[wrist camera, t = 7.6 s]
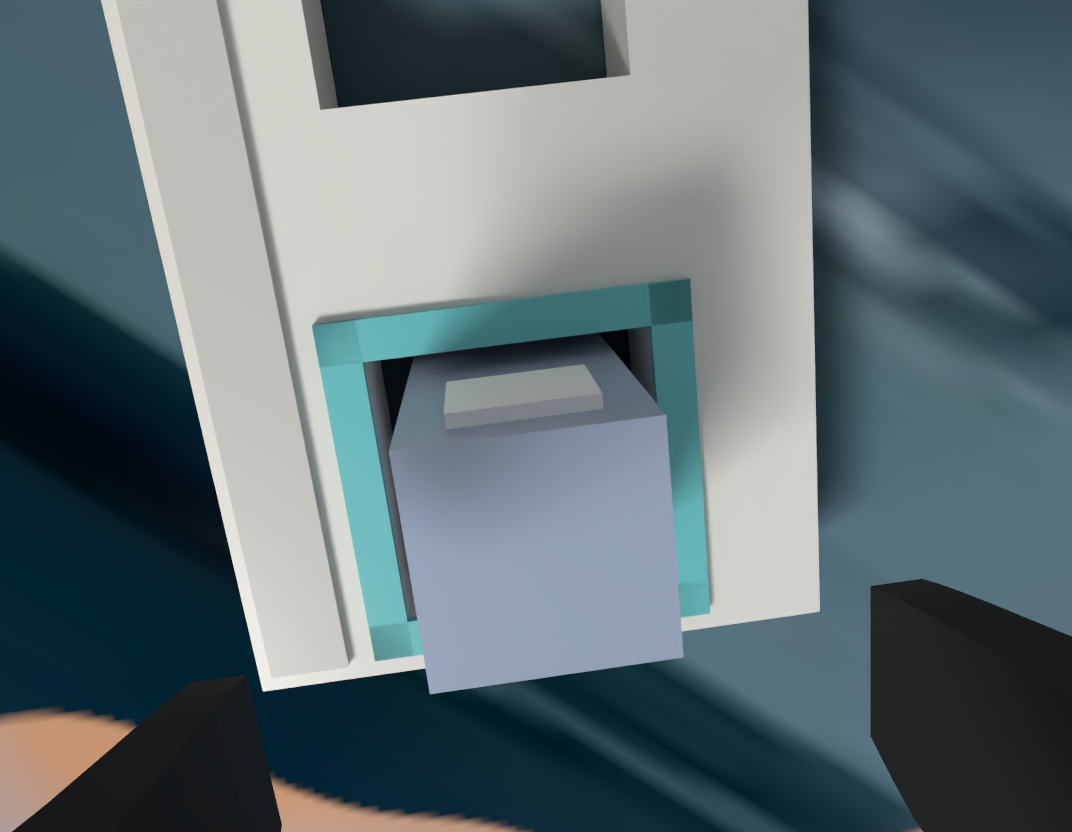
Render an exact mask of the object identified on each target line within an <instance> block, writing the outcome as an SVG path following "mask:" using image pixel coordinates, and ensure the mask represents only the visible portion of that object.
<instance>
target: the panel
mask: <svg viewBox="0 0 1072 832" xmlns="http://www.w3.org/2000/svg"><path fill="white" fill-rule="evenodd" d="M101 2H102V6H103V10H104V15H105V19H106V23H107V27H108V32H109V36H110V40H111V45H112V49H113V53H114V57H115V62H116V66H117V70H118V74H119V79H120V83H121V87H122V92H123V96H124V100H125V104H126V109H127V113H128V117H129V121H130V126H131V130H132V134H133V138H134V143H135V147H136V151H137V156H138V160H139V164H140V168H141V173H142V177H143V181H144V185H145V190H146V194H147V198H148V203H149V207H150V211H151V215H152V220H153V224H154V228H155V232H156V237H157V241H158V245H159V249H160V254H161V258H162V262H163V267H164V271H165V275H166V279H167V284H168V288H169V292H170V296H171V301H172V305H173V309H174V314H175V318H176V322H177V326H178V331H179V335H180V339H181V343H182V348H183V352H184V356H185V361H186V365H187V369H188V373H189V378H190V382H191V386H192V390H193V395H194V399H195V403H196V407H197V412H198V416H199V420H200V425H201V429H202V433H203V437H204V442H205V446H206V450H207V454H208V459H209V463H210V467H211V472H212V476H213V480H214V484H215V489H216V493H217V497H218V501H219V506H220V510H221V514H222V518H223V523H224V527H225V531H226V536H227V540H228V544H229V548H230V553H231V557H232V561H233V565H234V570H235V574H236V578H237V583H238V587H239V591H240V595H241V600H242V604H243V608H244V612H245V617H246V621H247V625H248V629H249V634H250V638H251V642H252V647H253V651H254V655H255V659H256V664H257V668H258V672H259V676H260V681H261V685H262V689H263V691H270V690H277V689H284V688H291V687H298V686H305V685H312V684H319V683H326V682H333V681H340V680H346V679H353V678H360V677H367V676H374V675H381V674H388V673H395V672H402V671H409V670H416V669H423V668H426V667H425V662H424V656H423V650H422V644H421V638H420V632H419V626H418V620H417V615H416V609H415V603H414V597H413V591H412V585H411V579H410V573H409V567H408V562H407V556H406V550H405V544H404V538H403V532H402V526H401V520H400V515H399V509H398V503H397V497H396V491H395V485H394V479H393V473H392V467H391V462H390V456H389V449H390V445H391V441H392V437H393V432H392V426H391V420H390V414H389V408H388V402H387V396H386V390H385V384H384V378H383V372H382V366H381V360H386V359H394V358H401V357H409V356H417V355H425V354H433V353H441V352H449V351H457V350H465V349H473V348H480V347H488V346H496V345H504V344H512V343H520V342H528V341H536V340H544V339H552V338H560V337H567V336H575V335H583V334H591V333H599V332H607V331H615V330H623V329H628V339H629V351H630V364H631V373H632V374H633V375H634V376H635V378H636V379H637V380H638V381H639V383H640V384H641V385H642V386H643V387H644V389H645V390H646V391H647V392H648V393H649V395H650V396H651V397H652V398H653V399H654V401H655V402H656V403H657V404H658V405H659V407H660V408H661V409H662V410H663V412H664V413H665V414H666V419H667V433H668V447H669V461H670V475H671V489H672V503H673V517H674V531H675V545H676V559H677V573H678V587H679V601H680V615H681V629H682V631H688V630H695V629H702V628H709V627H716V626H722V625H729V624H736V623H743V622H750V621H757V620H764V619H771V618H778V617H785V616H792V615H799V614H806V613H813V612H820V601H819V549H818V497H817V444H816V392H815V340H814V288H813V235H812V183H811V131H810V79H809V27H808V0H601V11H602V23H603V35H604V48H605V60H606V72H607V78H600V79H591V80H582V81H573V82H564V83H556V84H547V85H538V86H529V87H520V88H511V89H502V90H493V91H485V92H476V93H467V94H458V95H449V96H440V97H431V98H422V99H413V100H405V101H396V102H387V103H378V104H369V105H360V106H351V107H342V108H338V103H337V97H336V91H335V85H334V79H333V73H332V67H331V62H330V56H329V50H328V44H327V38H326V32H325V26H324V20H323V14H322V8H321V2H320V0H101Z"/></svg>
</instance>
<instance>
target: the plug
mask: <svg viewBox="0 0 1072 832" xmlns="http://www.w3.org/2000/svg"><path fill="white" fill-rule="evenodd" d="M389 456H390V462H391V467H392V473H393V479H394V485H395V491H396V497H397V503H398V509H399V515H400V520H401V526H402V532H403V538H404V544H405V550H406V556H407V562H408V567H409V573H410V579H411V585H412V591H413V597H414V603H415V609H416V615H417V620H418V626H419V632H420V638H421V644H422V650H423V656H424V662H425V667H426V673H427V679H428V685H429V691H430V694H434V693H441V692H448V691H455V690H462V689H469V688H476V687H482V686H489V685H496V684H503V683H510V682H517V681H524V680H531V679H538V678H544V677H551V676H558V675H565V674H572V673H579V672H586V671H593V670H600V669H606V668H613V667H620V666H627V665H634V664H641V663H648V662H655V661H662V660H668V659H675V658H682V657H683V643H682V629H681V615H680V601H679V587H678V573H677V559H676V545H675V531H674V517H673V503H672V489H671V475H670V461H669V447H668V433H667V419H666V414H665V413H664V412H663V410H662V409H661V408H660V407H659V405H658V404H657V403H656V402H655V401H654V399H653V398H652V397H651V396H650V395H649V393H648V392H647V391H646V390H645V389H644V387H643V386H642V385H641V384H640V383H639V381H638V380H637V379H636V378H635V376H634V375H633V374H632V373H631V372H630V370H629V369H628V368H627V367H626V366H625V364H624V363H623V362H622V361H621V360H620V358H619V357H618V356H617V355H616V353H615V352H614V351H613V350H612V349H611V347H610V346H609V345H608V344H607V343H606V341H605V340H604V339H603V338H602V337H601V335H600V334H599V333H591V334H583V335H575V336H567V337H560V338H552V339H544V340H536V341H528V342H520V343H512V344H504V345H496V346H488V347H480V348H473V349H465V350H457V351H449V352H441V353H433V354H425V355H417V356H414V358H413V362H412V365H411V369H410V373H409V377H408V381H407V384H406V388H405V392H404V396H403V399H402V403H401V407H400V411H399V415H398V418H397V422H396V426H395V430H394V433H393V437H392V441H391V445H390V449H389Z"/></svg>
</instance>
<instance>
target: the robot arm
mask: <svg viewBox="0 0 1072 832" xmlns="http://www.w3.org/2000/svg"><path fill="white" fill-rule="evenodd" d="M871 738H872V740H873V742H874V744H875V746H876V748H877V750H878V752H879V754H880V756H881V758H882V760H883V762H884V764H885V765H886V767H887V769H888V771H889V773H890V775H891V777H892V779H893V781H894V783H895V785H896V787H897V788H898V790H899V792H900V794H901V796H902V798H903V799H904V801H905V803H906V805H907V807H908V809H909V810H910V812H911V814H912V816H913V817H914V819H915V820H916V822H917V823H918V825H919V826H920V828H921V829H922V831H923V832H1072V636H1069V635H1067V634H1064V633H1062V632H1059V631H1057V630H1054V629H1052V628H1050V627H1047V626H1045V625H1042V624H1040V623H1037V622H1035V621H1032V620H1030V619H1028V618H1025V617H1023V616H1020V615H1018V614H1015V613H1013V612H1010V611H1008V610H1006V609H1003V608H1001V607H998V606H996V605H993V604H991V603H988V602H986V601H983V600H981V599H978V598H976V597H973V596H971V595H968V594H965V593H963V592H960V591H957V590H955V589H952V588H949V587H946V586H943V585H940V584H937V583H934V582H931V581H927V580H924V579H918V580H911V581H904V582H897V583H890V584H883V585H876V586H871ZM281 827H282V823H281V819H280V815H279V811H278V807H277V803H276V799H275V794H274V790H273V786H272V782H271V777H270V773H269V769H268V765H267V761H266V757H265V752H264V748H263V744H262V740H261V736H260V732H259V727H258V723H257V719H256V715H255V711H254V706H253V702H252V698H251V694H250V690H249V686H248V681H247V677H246V675H241V676H234V677H227V678H220V679H213V680H206V681H199V682H192V683H190V684H189V685H187V686H186V687H185V688H183V689H182V690H180V691H179V692H178V693H176V694H175V695H174V696H173V697H171V698H170V699H169V700H168V701H166V702H165V703H164V704H163V705H162V706H160V707H159V708H158V709H157V710H156V711H154V712H153V713H152V714H151V715H150V716H149V717H147V718H146V719H145V720H144V721H143V722H142V723H140V724H139V725H138V726H137V727H136V728H135V729H133V730H132V731H131V732H130V733H129V734H128V735H127V736H125V737H124V738H123V739H122V740H121V741H120V742H118V743H117V744H116V745H115V746H114V747H113V748H112V749H110V750H109V751H108V752H107V753H106V754H105V755H103V756H102V757H101V758H100V759H99V760H98V761H96V762H95V763H94V764H93V765H92V766H91V767H90V768H88V769H87V770H86V771H85V772H84V773H82V774H81V775H80V776H79V777H78V778H77V779H75V780H74V781H73V782H72V783H71V784H70V785H69V786H67V787H66V788H65V789H64V790H63V791H61V792H60V793H59V794H58V795H57V796H56V797H54V798H53V799H52V800H51V801H50V802H48V804H46V805H45V806H44V807H42V808H41V809H40V810H39V811H38V812H36V813H35V814H34V815H33V816H31V817H30V818H29V819H27V820H26V821H25V822H24V823H22V824H21V825H20V826H19V827H17V828H16V829H15V830H14V831H12V832H281Z"/></svg>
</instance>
